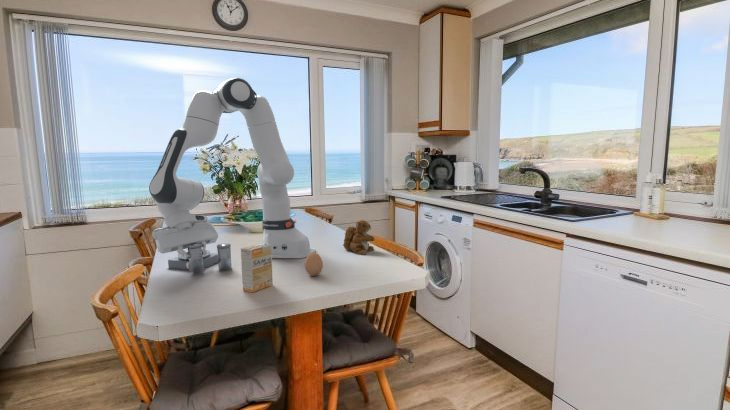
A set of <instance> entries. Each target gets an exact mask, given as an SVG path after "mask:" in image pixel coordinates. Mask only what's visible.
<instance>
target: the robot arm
mask: <svg viewBox="0 0 730 410" xmlns="http://www.w3.org/2000/svg"><path fill="white" fill-rule="evenodd" d="M238 111H239V112H240V113H241V114H242V115H243V117H244V119H245V122H246V126H247V129H248V133H249V136H250V140H251V144H252V147H253V149H254V151H255V153H256V155H257V157H258V159H259V162H260V163H259V165H258V166H257V171H256V172H257V173H256V174H257V177H258V184H259V190H260V194H261V196H260V197H261V201H262V202H261V203H262V219H261V221H262V222H261V224H262V226H261V227H262V232H263V234H262V243H264V244H270V245H271V253H272V259H303V258H307V256H308V255H309V254H310V253H313V252H314V253H316V248H315V247H312V246H311V244H310V239H309V237H308V236H307V235H306V234H304V233H303V232H302V231H300V230H299V229H298V228H297V227H295V226H296V223H297V220H296V219H292V218H291V217H292V216H291V200H290V196H289V194H288V189H287V185H288V184H289V183H291V181H293V179H294V176H295V169H294V167H293V165H292V164H291V161H290V159H289V156H288V154H287V151H286V149H285V148H284V145H283V142H282V140H281V136H280V133H279V129H278V126H277V122H276V119H275V114H274V112H273V110H272V107H271V105H270V103H269V101H268V100H267V98H266V97H265V96H263V95H259V94H258V95H257V92H255V90H254V89H253V88H252V86H251V84H249V82H248V81H247V80H246V79H244V78H240V77H231V78H228V79H227V80H225V81H223V82H222V83H220V84H219V86H218V87H216V88H215V89H214V90H213V91H212V92H211V91H208V90H199V91H196V92H195V93H194V94H193V96H192V98H191V101H190V103H189V106H188V108H187V111H186V116H185V119H184V122H183V124H182V126H181V127H180V128H179V129H176V130H175V131H174V132H173V133H172V135H171V137H170V139H169V141H168V144H167V146H166V148H165V151H164V153H163V155H162V159H161V160H160V163H159V166H158V169H157V170H156V172H155V174H154V176H153V177H152V179H151V181H150V183H149V188H148V191H149V193H150V195H151V197H152V199H153V200H154V202H155V203H156V207H157V209H158V211H159V213H160V215H161V217H162V218H163V220H164V224H165V226H166V227H161V228H160V227H159V228H156V229H155V228H154V230H152V232H151V237H152V239H153V240H154V241H155V245H156V248H157V252H158V253H160V254H167V253H172V252H177V253H178V254H181V255H182V256H183V257H184V259H189V258H190V254H189V252H185V250H186V249H187V250H188V248H187V245H189V244H193V243H201V244H202V255H206V254H207V251H206V250H207V248H206V247H207V245H210V244H214V243H216V242H217V240H218V239H219V234H218V232H217V231H218V230H216V228H215V227H214V225H213V223H211V222H209V221H208V216H206V215H202V214H195V213H191V212H190V211H192V210H193V209H195V208H196V207H197V206H198V205H199V204H200V203H201V202H203V200H204V198H205V187H204V186H203V184H202V182H201V181H199V180H196V179H192V178H187V177H186V178H185V177H183V176H182V177H181V176H178V175H177V172H178V169H179V166H180V163H181V161H182V159H183V156H184V154H185V153H186V152H187V151H188V150H189V149H192V148H198V147H204V146H207V145H209V144H211V143H212V142H213V141H215V139H216V137H217V134H218V129H219V124H220V120H221V119H220V118H221V116H222V114H232V113H235V112H238Z"/></svg>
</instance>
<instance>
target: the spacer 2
mask: <svg viewBox="0 0 730 410" xmlns="http://www.w3.org/2000/svg"><path fill="white" fill-rule="evenodd" d="M216 250H217V252H216V253H217V254H218V262H217V265H218V267H217V268H218V271H219V272H227V271H231V270H232V269H233V268H232V266H233V265H232V253H231V251H232V250H231V243H226V242H225V243H219V244H217V245H216Z"/></svg>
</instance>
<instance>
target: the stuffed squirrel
mask: <svg viewBox="0 0 730 410" xmlns="http://www.w3.org/2000/svg"><path fill="white" fill-rule="evenodd" d="M371 230H372V226H371V224H370V223H369V222H368V221H366V220H364V219H361V220H358V221H355V227H354V226H349V227H347V229H346V230H345V233H344V239H343V244H342V246H343V248H344V249H345V251H348V252H353V253H354V254H356V255H366V254H367V252H368V251H373V250H375V249H374V246H372V245H370V243H369V242H374V241H375V237H374V235H371V234H368V232H369V231H371Z"/></svg>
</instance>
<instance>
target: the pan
mask: <svg viewBox="0 0 730 410" xmlns="http://www.w3.org/2000/svg"><path fill="white" fill-rule="evenodd" d="M184 251H185V250H184ZM206 251H207V254H206V255H202V256H203V258H204V257H207V256H209V255H210V253H211V251H210V250H208V249H206ZM185 252H188V250H186V251H185ZM177 257H178V258H179V259H182V260H189V259H184V257H183V256H182V255H181V254H179V253H178V254H177Z"/></svg>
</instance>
